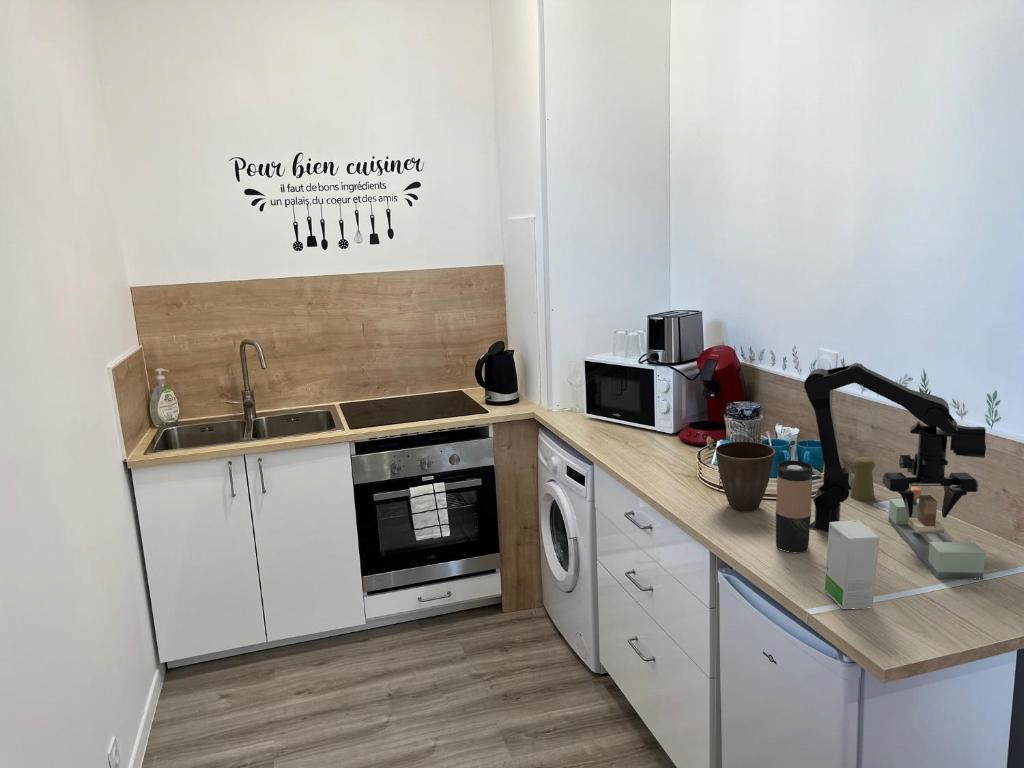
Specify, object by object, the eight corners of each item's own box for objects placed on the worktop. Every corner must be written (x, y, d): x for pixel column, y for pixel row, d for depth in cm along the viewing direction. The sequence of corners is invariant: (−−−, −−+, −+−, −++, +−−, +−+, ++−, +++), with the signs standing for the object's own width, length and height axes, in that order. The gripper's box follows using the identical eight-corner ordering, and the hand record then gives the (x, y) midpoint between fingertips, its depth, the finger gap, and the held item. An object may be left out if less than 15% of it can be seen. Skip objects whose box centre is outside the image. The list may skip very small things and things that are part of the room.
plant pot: (743, 522, 193) (744, 462, 189) (703, 504, 206) (703, 447, 202) (785, 509, 200) (787, 451, 196) (744, 492, 213) (745, 438, 209)
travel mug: (808, 541, 180) (812, 461, 176) (810, 555, 173) (813, 472, 169) (774, 538, 183) (777, 459, 178) (774, 551, 176) (777, 469, 171)
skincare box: (823, 591, 157) (826, 521, 154) (853, 588, 158) (857, 518, 154) (843, 611, 149) (848, 538, 145) (876, 609, 149) (881, 535, 146)
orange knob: (922, 506, 183) (923, 491, 182) (908, 506, 184) (909, 491, 183) (917, 501, 186) (918, 486, 185) (903, 501, 187) (904, 486, 186)
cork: (877, 501, 202) (879, 462, 200) (852, 500, 203) (855, 461, 201) (871, 493, 208) (873, 454, 206) (847, 492, 209) (849, 454, 207)
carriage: (944, 533, 174) (946, 502, 173) (916, 532, 175) (918, 502, 173) (935, 524, 179) (937, 494, 177) (908, 524, 180) (910, 494, 178)
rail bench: (983, 579, 159) (985, 552, 158) (937, 578, 160) (939, 552, 159) (926, 522, 188) (928, 499, 187) (888, 521, 189) (889, 499, 188)
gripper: (960, 442, 180) (954, 504, 183) (876, 442, 182) (873, 503, 186) (982, 457, 169) (975, 522, 172) (893, 457, 171) (888, 521, 175)
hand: (926, 516), depth 177 cm, fingers open, 7 cm apart
